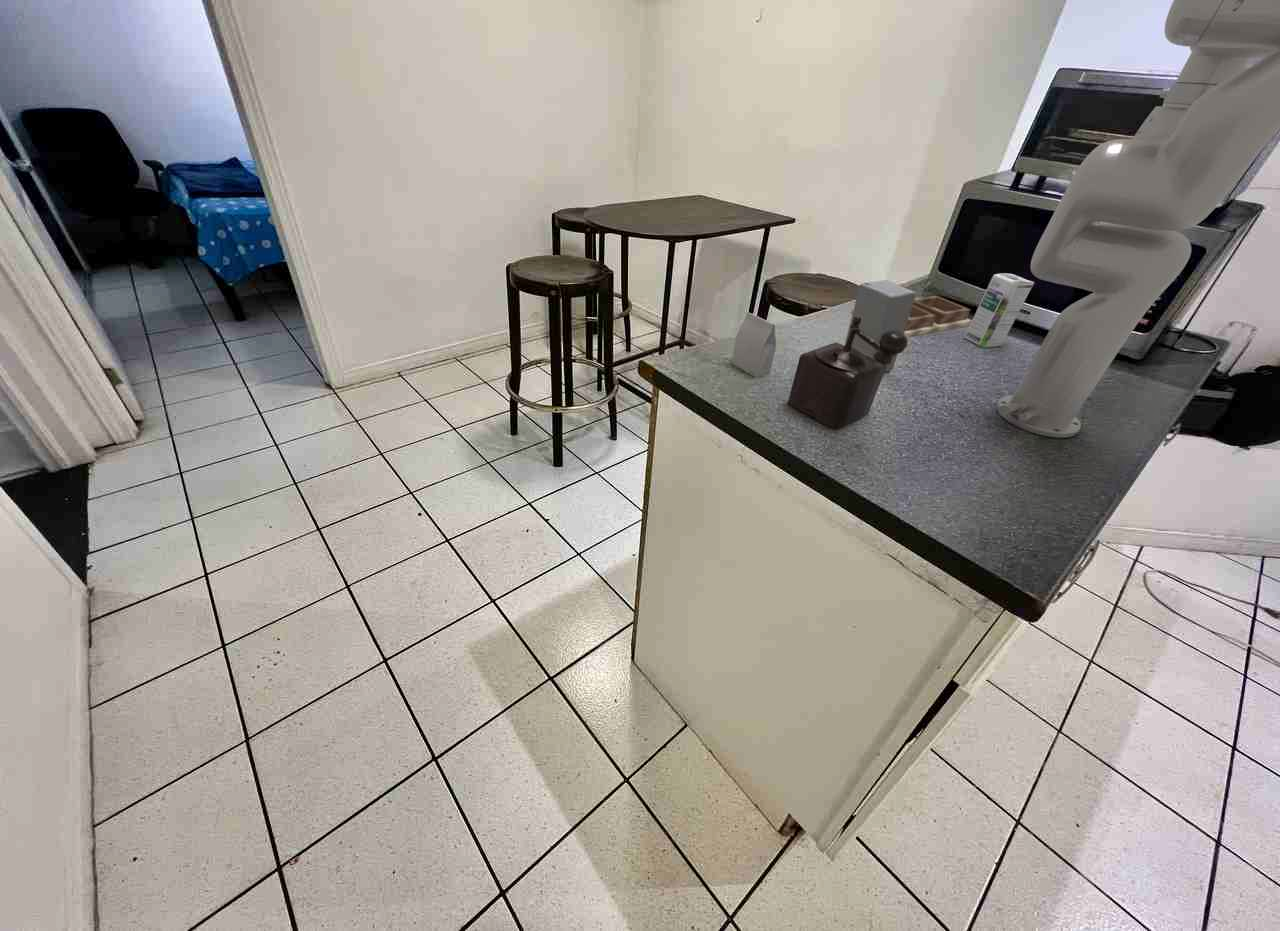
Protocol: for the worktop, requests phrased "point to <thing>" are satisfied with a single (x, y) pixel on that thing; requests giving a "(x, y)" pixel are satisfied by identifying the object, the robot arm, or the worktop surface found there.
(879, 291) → the skincare box
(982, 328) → the syrup box
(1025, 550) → the worktop surface
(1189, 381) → the worktop surface
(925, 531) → the worktop surface
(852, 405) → the manual coffee grinder
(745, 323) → the white paper bag
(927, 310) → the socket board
